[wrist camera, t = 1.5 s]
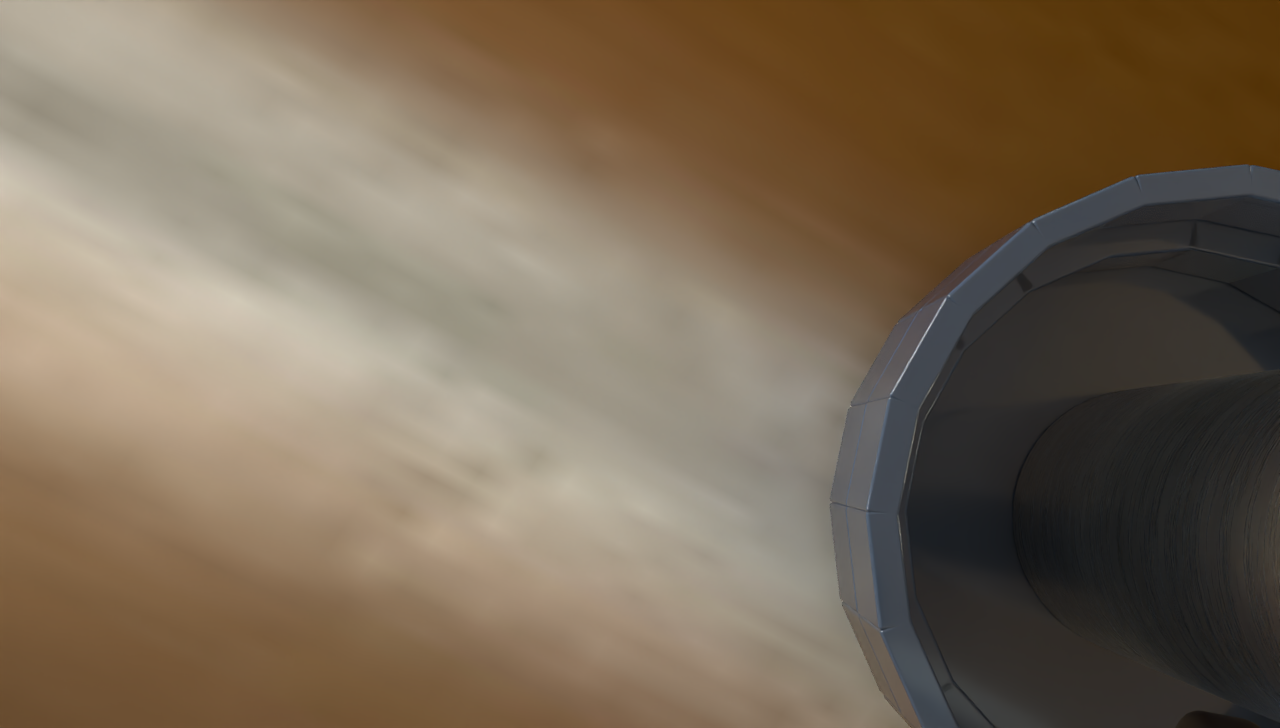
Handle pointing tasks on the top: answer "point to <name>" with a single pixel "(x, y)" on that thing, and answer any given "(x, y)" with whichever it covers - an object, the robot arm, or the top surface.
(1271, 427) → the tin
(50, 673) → the top surface
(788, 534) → the top surface
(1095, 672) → the blue bowl
